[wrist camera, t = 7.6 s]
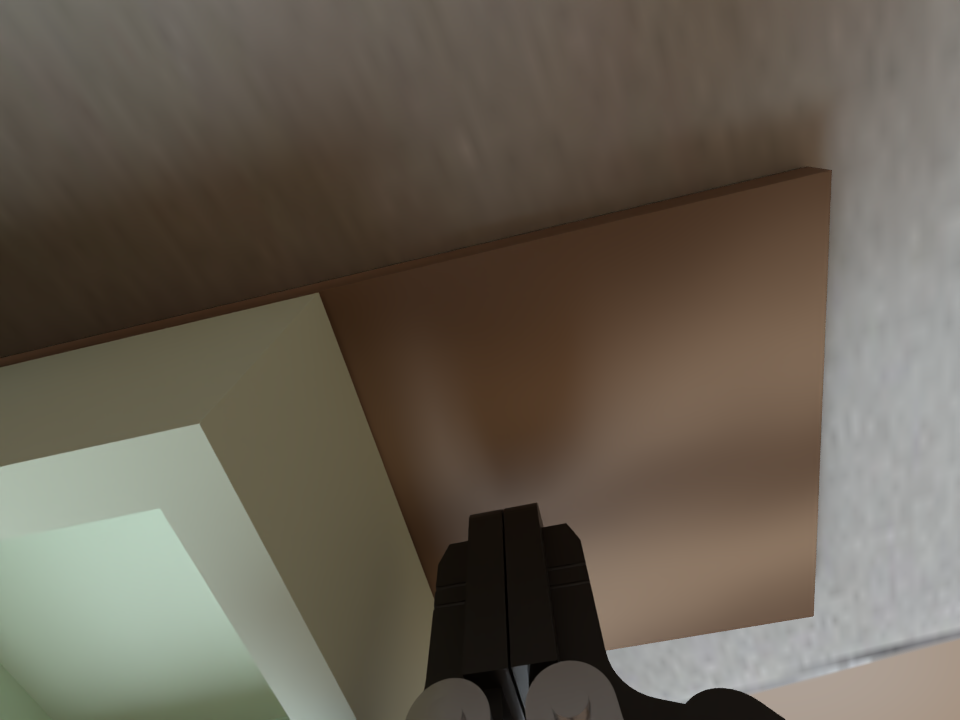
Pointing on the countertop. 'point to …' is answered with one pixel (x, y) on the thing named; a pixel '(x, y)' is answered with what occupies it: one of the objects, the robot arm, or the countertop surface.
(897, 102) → the countertop surface
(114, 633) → the socket block
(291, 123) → the countertop surface
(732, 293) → the backstop
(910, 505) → the countertop surface
